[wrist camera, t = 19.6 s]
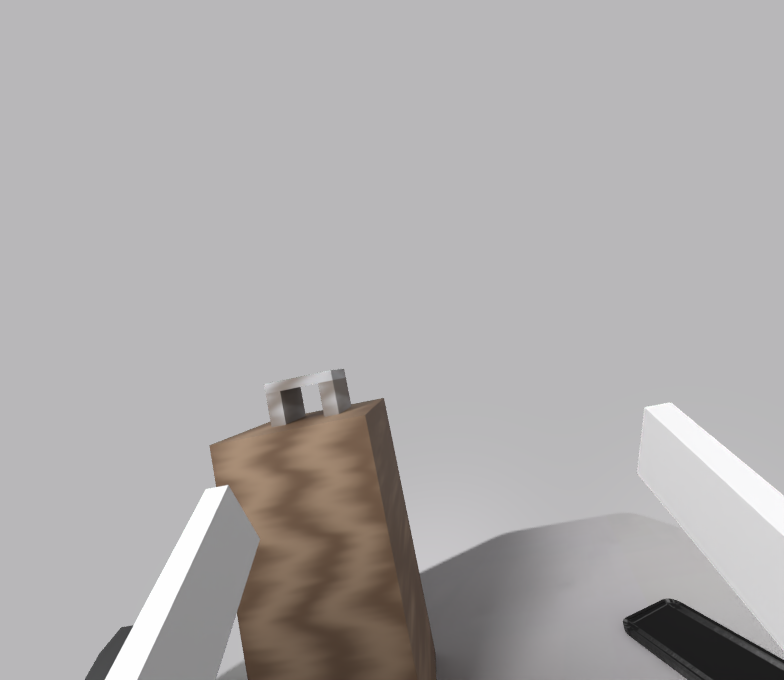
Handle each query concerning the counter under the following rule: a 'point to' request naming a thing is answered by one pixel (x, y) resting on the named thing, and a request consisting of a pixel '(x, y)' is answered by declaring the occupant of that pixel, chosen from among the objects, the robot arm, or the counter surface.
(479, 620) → the counter surface
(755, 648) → the phone
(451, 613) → the counter surface
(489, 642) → the counter surface
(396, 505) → the stand
